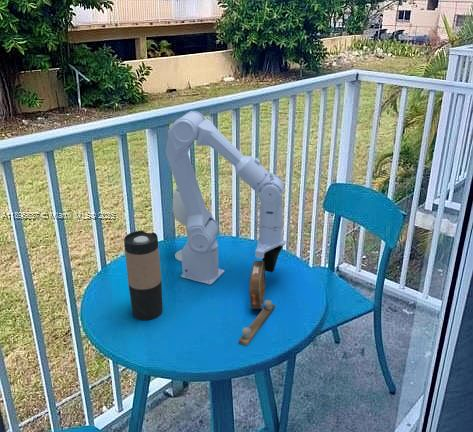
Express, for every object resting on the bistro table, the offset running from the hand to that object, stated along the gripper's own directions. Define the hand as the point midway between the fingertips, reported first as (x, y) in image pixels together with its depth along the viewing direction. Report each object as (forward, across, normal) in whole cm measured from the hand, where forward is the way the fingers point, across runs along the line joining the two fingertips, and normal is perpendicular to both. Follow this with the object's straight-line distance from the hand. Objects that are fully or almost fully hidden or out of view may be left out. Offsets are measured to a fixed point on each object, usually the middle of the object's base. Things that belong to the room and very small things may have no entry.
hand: (269, 270), depth 126 cm
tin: (+4, -9, 0) cm, 9 cm away
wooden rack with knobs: (+3, -19, -5) cm, 20 cm away
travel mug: (+4, -26, +21) cm, 33 cm away
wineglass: (+4, +4, +27) cm, 27 cm away
